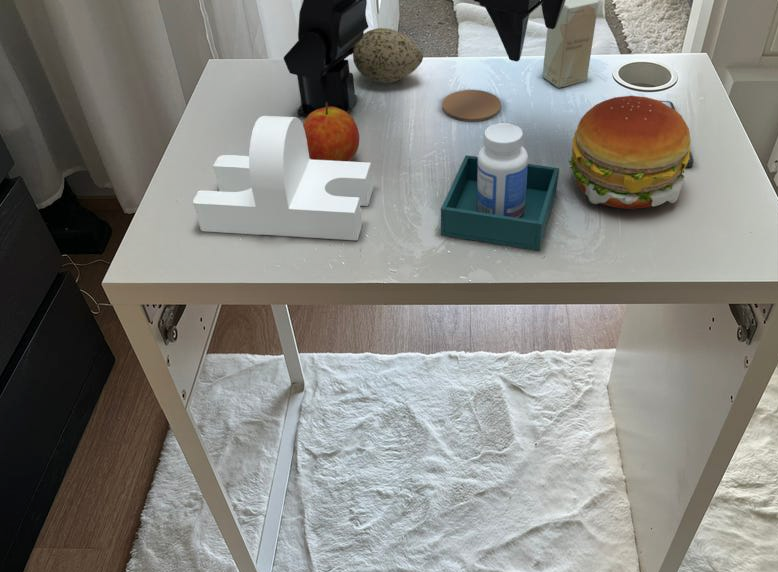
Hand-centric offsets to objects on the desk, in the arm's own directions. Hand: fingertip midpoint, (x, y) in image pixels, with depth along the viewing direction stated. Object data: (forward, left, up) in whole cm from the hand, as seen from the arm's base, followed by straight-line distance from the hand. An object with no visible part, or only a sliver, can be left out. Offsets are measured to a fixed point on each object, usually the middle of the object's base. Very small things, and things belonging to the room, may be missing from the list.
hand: (533, 43), depth 85 cm
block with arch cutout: (-24, -18, -14) cm, 33 cm away
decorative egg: (-28, +15, -11) cm, 33 cm away
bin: (0, -13, -14) cm, 19 cm away
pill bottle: (0, -13, -14) cm, 19 cm away
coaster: (-9, +10, -14) cm, 20 cm away
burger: (+13, -4, -14) cm, 19 cm away
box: (+2, +21, -14) cm, 26 cm away
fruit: (-23, -7, -14) cm, 28 cm away
